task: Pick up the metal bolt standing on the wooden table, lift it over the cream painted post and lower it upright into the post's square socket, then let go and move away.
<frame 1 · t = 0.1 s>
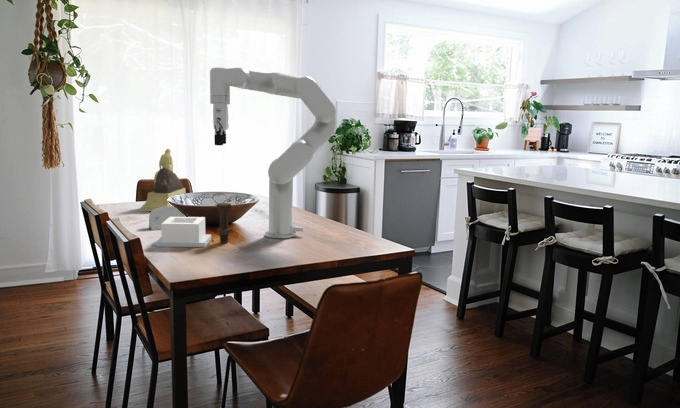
hand: (220, 144, 214), 37 cm above the table, tool pointing down, fingers open, 9 cm apart
yellow and brown statue: (165, 207, 278), on the table
bolt: (224, 243, 208), on the table
grey arched bracket: (169, 227, 232), on the table
socket post: (184, 242, 206), on the table
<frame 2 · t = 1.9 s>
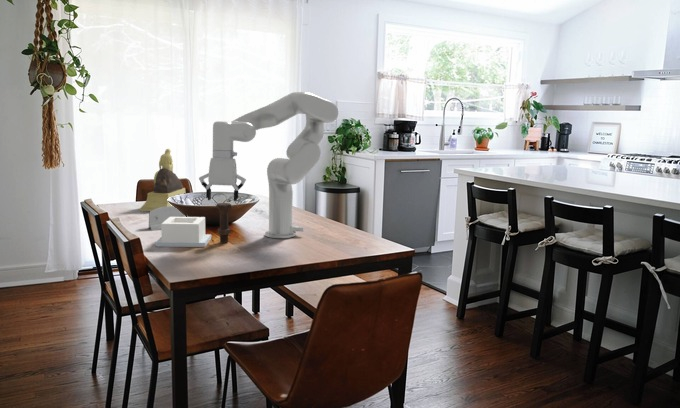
hand: (222, 200, 204), 16 cm above the table, tool pointing down, fingers open, 9 cm apart
nothing on the table moved.
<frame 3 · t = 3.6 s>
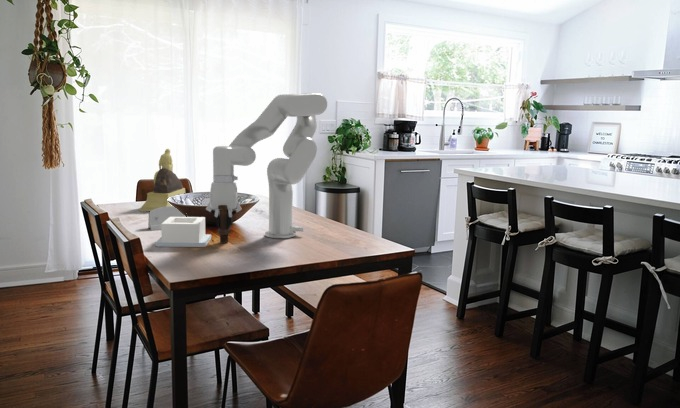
hand: (224, 226, 207), 6 cm above the table, tool pointing down, fingers closed on bolt, 3 cm apart
bolt: (224, 243, 208), on the table, touching gripper
everything else where it was.
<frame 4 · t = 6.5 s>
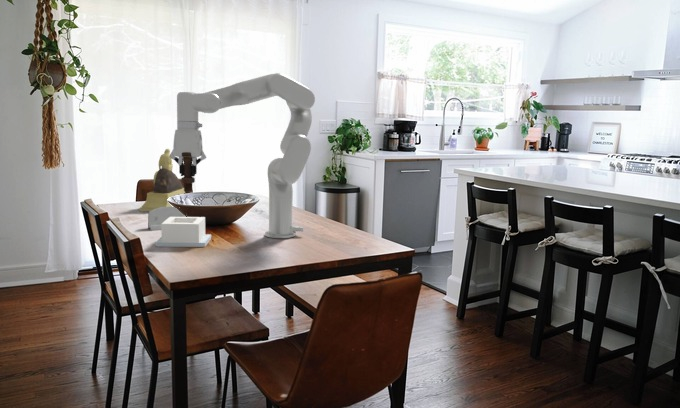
hand: (188, 175, 202), 26 cm above the table, tool pointing down, fingers closed on bolt, 3 cm apart
bolt: (188, 192, 203), point 19 cm above the table, touching gripper
everything else where it was.
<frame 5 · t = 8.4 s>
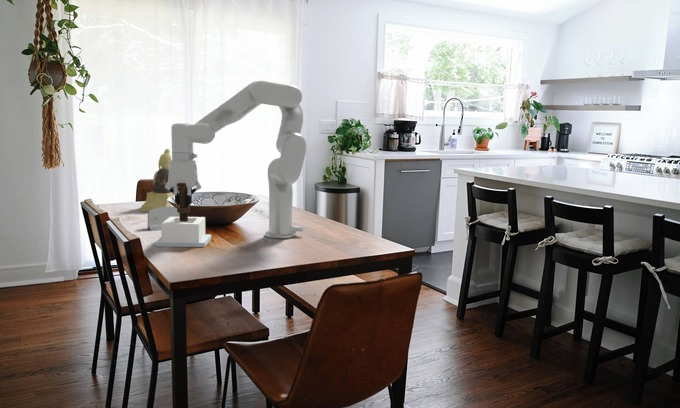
hand: (183, 205, 204), 14 cm above the table, tool pointing down, fingers closed on bolt, 3 cm apart
bolt: (183, 221, 205), point 8 cm above the table, touching gripper
everything else where it was.
when the fingers open (10 cm above the table, at t = 9.6 s): bolt drops 2 cm, resting on socket post.
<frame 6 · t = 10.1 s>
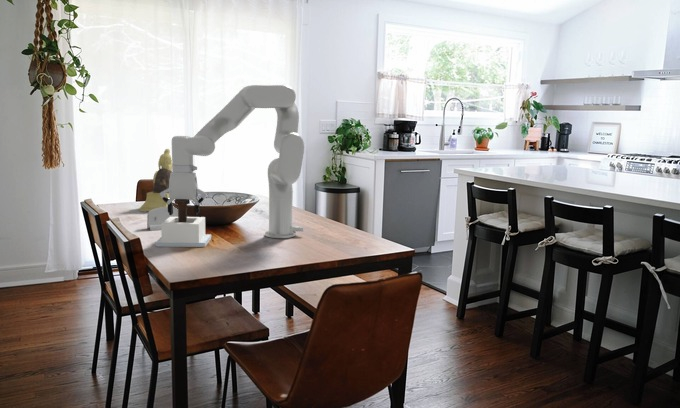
hand: (183, 214, 205), 11 cm above the table, tool pointing down, fingers open, 9 cm apart
bolt: (183, 238, 206), point 1 cm above the table, touching socket post
everything else where it was.
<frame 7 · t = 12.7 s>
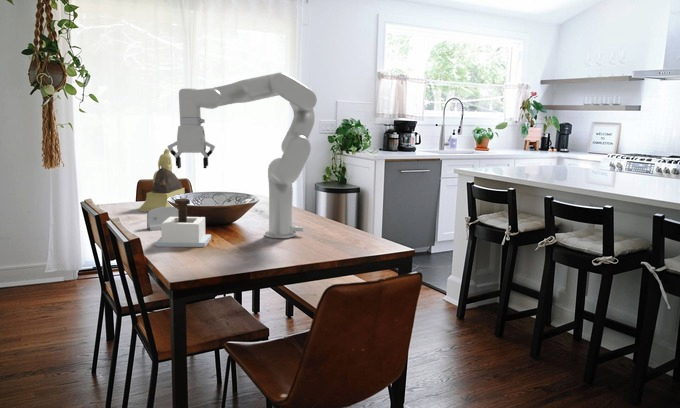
hand: (192, 168, 205), 28 cm above the table, tool pointing down, fingers open, 9 cm apart
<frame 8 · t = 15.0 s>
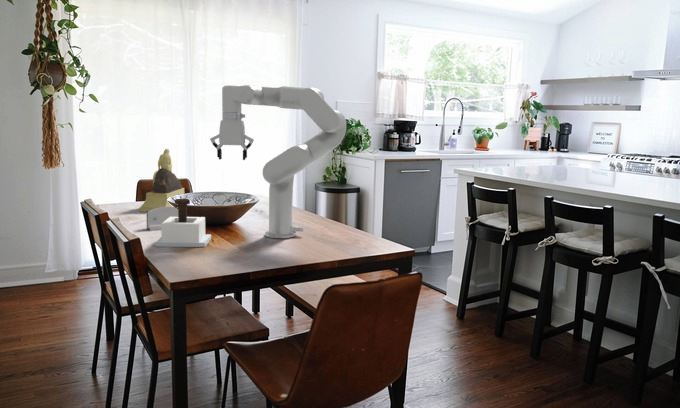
hand: (232, 159, 220), 30 cm above the table, tool pointing down, fingers open, 9 cm apart
at the end: bolt 0.5 cm off-centre on the socket post, point 1.3 cm above the socket post's base; bolt tilted 0°; the gripper is holding nothing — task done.
